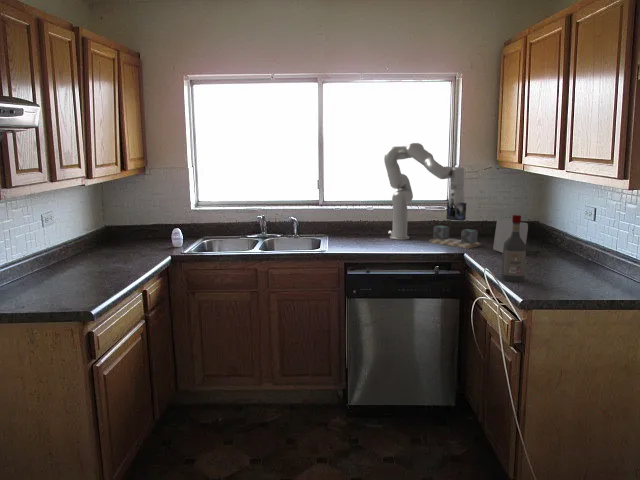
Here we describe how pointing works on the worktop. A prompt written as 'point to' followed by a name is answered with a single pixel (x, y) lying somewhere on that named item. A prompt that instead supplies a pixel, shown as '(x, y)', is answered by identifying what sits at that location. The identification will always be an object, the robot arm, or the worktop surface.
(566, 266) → the worktop surface
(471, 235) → the rail board
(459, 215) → the small box
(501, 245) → the electrical switch box
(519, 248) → the liquor
